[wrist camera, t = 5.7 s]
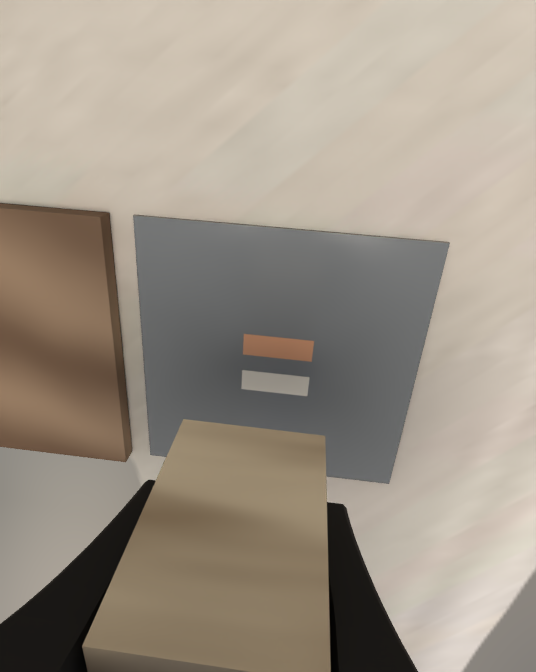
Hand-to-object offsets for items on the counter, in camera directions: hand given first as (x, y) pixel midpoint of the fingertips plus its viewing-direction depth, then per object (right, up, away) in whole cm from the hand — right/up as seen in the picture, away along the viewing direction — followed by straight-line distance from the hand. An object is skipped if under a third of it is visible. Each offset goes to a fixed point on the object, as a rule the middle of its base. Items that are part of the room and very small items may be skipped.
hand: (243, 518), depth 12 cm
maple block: (0, +1, +1) cm, 1 cm away
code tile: (+1, +4, +7) cm, 8 cm away
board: (-12, +5, +8) cm, 15 cm away
